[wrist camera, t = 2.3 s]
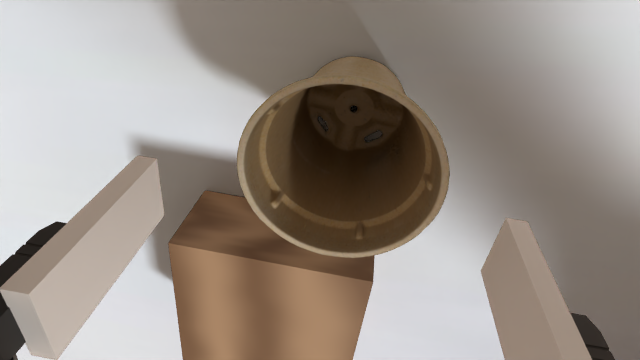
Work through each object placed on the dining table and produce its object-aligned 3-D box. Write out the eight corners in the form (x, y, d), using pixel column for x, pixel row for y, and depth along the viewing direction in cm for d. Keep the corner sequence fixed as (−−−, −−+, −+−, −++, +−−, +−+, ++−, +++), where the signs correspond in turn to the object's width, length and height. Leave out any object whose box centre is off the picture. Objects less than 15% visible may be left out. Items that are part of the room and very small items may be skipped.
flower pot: (369, 194, 28) (362, 286, 21) (254, 121, 27) (204, 194, 20) (466, 90, 24) (499, 163, 16) (333, -8, 22) (304, 26, 15)
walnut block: (376, 221, 30) (373, 282, 25) (349, 331, 37) (342, 396, 32) (205, 190, 30) (168, 243, 25) (211, 304, 38) (183, 363, 33)
